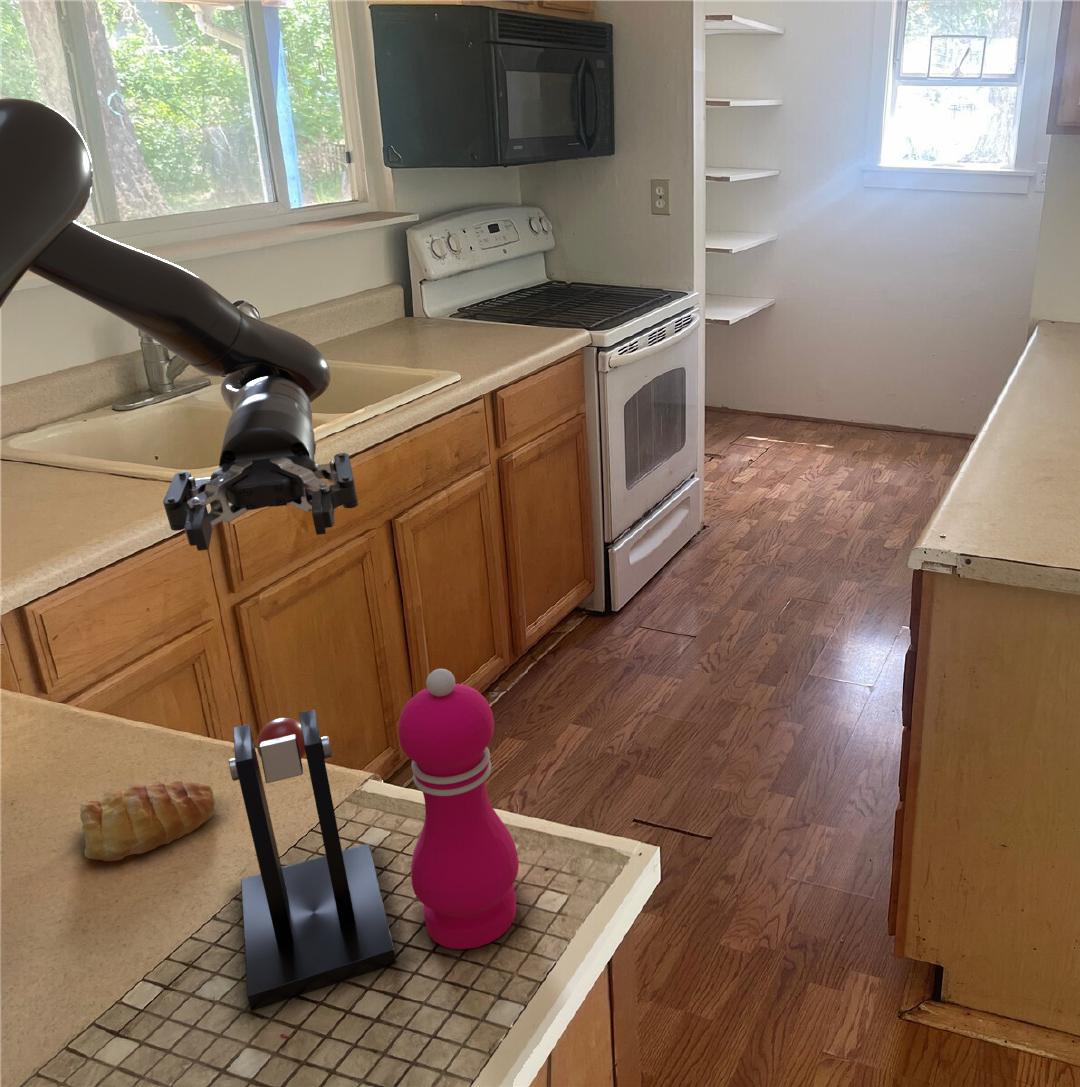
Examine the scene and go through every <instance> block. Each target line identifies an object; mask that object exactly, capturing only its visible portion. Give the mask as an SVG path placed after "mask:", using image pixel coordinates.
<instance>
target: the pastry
mask: <svg viewBox="0 0 1080 1087" xmlns="http://www.w3.org/2000/svg"><path fill="white" fill-rule="evenodd" d="M216 807H217V805H216V800H215V797H214V793H213V789H212V787H211V786H210V785H207V784H201V783H199V782H192V781H190V782H183V781H180V780H176V781H171V782H166V783H164V782H161V781H155V782H152V783H150V784H138V783H135V782H134V783H131V784H130V785H128V786H127V787H126V788H125V789H124V790H120V789H108V790H105V792H103V794H102V795H101V796H100V798H99V799H95V800H94V799H93V800H92V799H91V800H88V799H87V800H85V801H83V802H81V804H80V810H79V811H80V814H79V816H80V821H81V824H82V830H83V835H84V846H85V849H84V857H85V858H86V859H90V860H95V861H96V860H98V861H100V860H101V861H105V862H113V861H114V862H115V861H123V859H124V858H125V857H127V856H131V855H136V854H137V855H141V854H144V853H147V852H149V851H152V850H154V849H156V848H157V847H159V846H163V845H166V844H170V843H171V842H172V841H174V840H177V839H178V840H180V838H182V837H184V836H186V835H189V834H191V833H192V832H193V831H194V830H196V829H198V828H199V827H200V826H201V825H202V824H203V823H205V822H206V821H208V820H210V819H211V818H212V816H213V815H214V813H215V811H216V809H217V808H216Z"/></svg>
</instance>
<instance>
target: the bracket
mask: <svg viewBox="0 0 1080 1087" xmlns="http://www.w3.org/2000/svg"><path fill="white" fill-rule="evenodd" d="M298 717H299V722H300V723H301V729H302V735H303V741H304V747H305V752H306V754H305V756H306V762H307V766H308V767H307V768H308V771H309V777H310V782H311V786H312V792H313V797H314V802H315V807H316V812H317V817H318V822H319V826H320V833H321V838H322V842H323V847H324V852H325V855H322V856H318V857H315V858H312V859H308V860H304V861H301V862H297V863H293V864H290V865H286V866H282V864H281V859H280V854H279V849H278V845H277V840H276V837H275V832H274V827H273V823H272V819H271V818H272V817H271V814H270V809H269V805H268V800H267V796H266V792H265V786H264V782H263V777H262V773H261V768H260V764H259V760H258V755H257V749H256V747H255V746H256V745H255V741H254V736H253V732H252V727H251V724H250V723H247V724H243V725H238V726H233V727H232V732H233V748H234V757H233V758H230V759H229V760H228V765H229V766H228V767H229V772H230V776H231V780H232V781H233V782H235V781H239V782H238V783H239V786H240V789H241V794H242V799H243V803H244V808H245V812H246V817H247V820H248V825H249V829H250V833H251V838H252V841H253V846H254V851H255V856H256V858H257V864H258V868H259V873H258V874H254V875H251V876H247V877H243V878H241V879H240V889H241V892H240V893H241V907H242V908H241V909H242V926H243V943H244V944H243V945H244V961H245V962H244V963H245V964H244V965H245V980H246V998H247V1001H248V1006H249V1009H250V1011H253V1010H256V1009H259V1008H262V1007H265V1006H268V1005H271V1004H275V1003H277V1002H281V1001H284V1000H286V999H289V998H293V997H296V996H299V995H302V994H305V993H308V992H312V991H315V990H318V989H320V988H323V987H324V988H325V987H327V986H330V985H332V984H335V983H339V982H342V981H344V980H348V979H351V978H354V977H357V976H360V975H364V974H366V973H369V972H373V971H376V970H378V969H381V968H385V967H387V966H390V965H394V964H397V958H396V953H395V947H394V943H393V939H392V935H391V931H390V926H389V922H388V919H387V918H388V917H387V913H386V910H385V905H384V901H383V897H382V896H383V895H382V893H381V888H380V884H379V880H378V875H377V871H376V866H375V863H374V858H373V854H372V851H371V846H370V843H365V844H362V845H357V846H354V847H350V848H347V849H344V850H342V845H341V839H340V834H339V829H338V823H337V819H336V812H335V807H334V803H333V797H332V792H331V786H330V781H329V778H328V777H329V776H328V771H327V770H328V769H327V766H326V761H325V760H326V759H331V758H332V757H333V753H332V748H331V742H330V738H329V735H328V736H327V735H326V736H322V737H321V735H320V730H319V725H318V724H319V723H318V719H317V714H316V710H315V709H310V710H304V711H300V712H298Z"/></svg>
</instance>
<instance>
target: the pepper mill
mask: <svg viewBox="0 0 1080 1087" xmlns="http://www.w3.org/2000/svg"><path fill="white" fill-rule="evenodd" d="M425 684H426V688H424V689H422V690H420V691H418V692H417V693H416V694H414V695H413V696H412V697H411V698H410V699H409V700H408V701H407V703H406V704H405V705H404V707H403V709H402V711H401V713H400V716H399V718H398V728H397V732H398V740H399V744H400V747H401V748H402V749H401V750H402V751H403V752H404V754H405V755H406V756H407V757H408V758H409V759H410V760H411V771H412V773H413V775H412V780H413V783H414V785H415V786H416V787H417V789H418V790H420V791H421V792H422V795H423V799H424V810H425V814H424V815H425V816H424V823H423V825H422V829H421V830H420V834H419V836H418V839H417V841H416V844H415V847H414V849H413V852H412V853H413V854H412V859H411V862H410V877H411V880H410V881H411V886H412V890H413V893H414V895H415V896H416V898H417V899H418V901H420V902H421V903H422V904H423V909H422V910H423V915H424V922H425V928H426V931H427V934H428V935H429V937H430V939H432V940H433V941H434V942H435V943H436V944H439V945H440V946H442V947H445V948H449V949H453V950H469V949H476V948H480V947H482V946H486V945H488V944H490V943H493V942H494V941H495V940H497V939H499V938H501V936H503V935H504V934H505V933H506V932H507V931H508V930H509V929H510V927H511V926H512V924H513V923H514V920H515V919H516V915H517V900H516V892H515V891H516V890H515V886H514V883H515V882H516V880H517V876H518V874H519V866H520V862H519V857H518V852H517V851H518V850H517V846H516V844H515V841H514V839H513V837H512V835H511V832H510V830H509V829H508V828H507V826H506V825H505V823H504V822H503V820H502V819H501V817H500V816H499V815H498V813H497V812H496V811H495V809H494V807H493V806H492V803H491V801H490V799H489V795H488V791H487V786H486V780H487V779H488V778H489V776H490V774H491V772H492V763H491V760H490V759H491V753H490V752H491V751H490V748H488V746H489V744H490V743H491V741H492V738H493V736H494V733H495V719H494V713H493V710H492V708H491V706H490V704H489V702H488V701H487V698H485V696H483V694H482V693H481V692H480V691H478V690H477V689H475V688H474V687H471V686H468V685H465V684H462V683H456V678H455V675H454V674H453V673H452V672H451V671H450V670H448V669H446V668H436V669H434V670H432V671H431V672H430V673H429V675H427V678H426V683H425Z"/></svg>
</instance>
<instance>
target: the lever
mask: <svg viewBox="0 0 1080 1087" xmlns="http://www.w3.org/2000/svg"><path fill="white" fill-rule="evenodd" d="M256 752H257V753H258V755H259V757H260V759H261V760H260V761H261V765H262V769H263V775H264V780H265V783H266V784H270V783H274V782H278V781H283V780H287V779H292V778H294V777H299V776H302V775H303V774H304V768H303V763H302V760H303V758H304V757H305V756H306V752H305V747H304V741H303V735H302V729H301V723H300V720H297V719H294V718H292V717H291V718H290V717H279V718H275V719H273V720H271V721H269V722H268V723H266V724H265V725H264V726H263V727H262V728H261V729H260V731H259V733H258V734H257V738H256Z"/></svg>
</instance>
